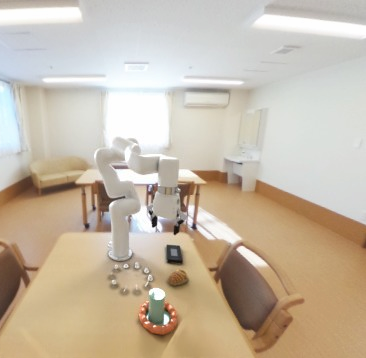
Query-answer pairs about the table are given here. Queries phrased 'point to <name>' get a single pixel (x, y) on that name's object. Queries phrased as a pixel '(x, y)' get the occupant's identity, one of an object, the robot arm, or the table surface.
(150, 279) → the game piece set
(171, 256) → the vhs tape
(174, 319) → the ring
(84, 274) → the table surface
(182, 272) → the pastry
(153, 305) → the mint knob on plate
